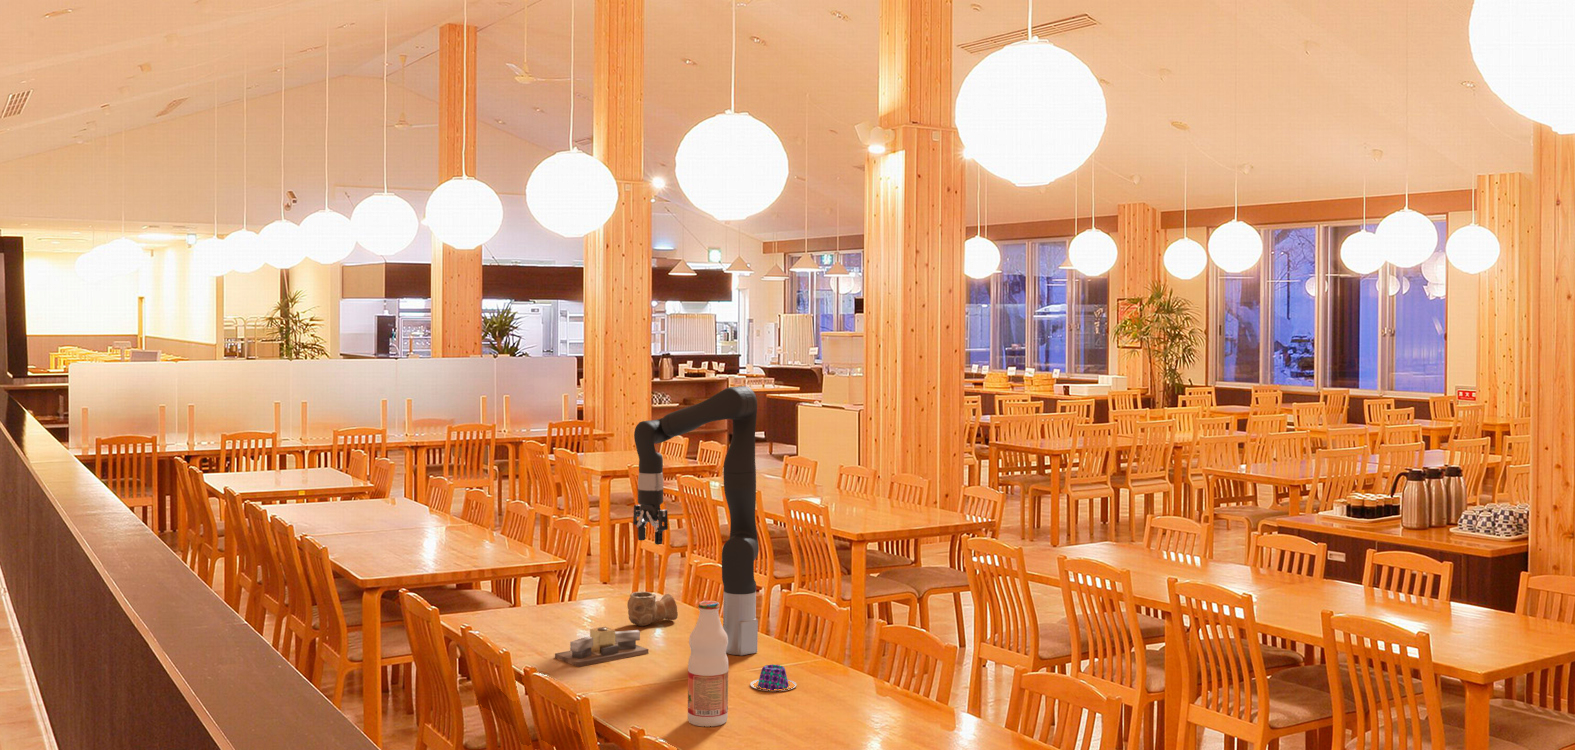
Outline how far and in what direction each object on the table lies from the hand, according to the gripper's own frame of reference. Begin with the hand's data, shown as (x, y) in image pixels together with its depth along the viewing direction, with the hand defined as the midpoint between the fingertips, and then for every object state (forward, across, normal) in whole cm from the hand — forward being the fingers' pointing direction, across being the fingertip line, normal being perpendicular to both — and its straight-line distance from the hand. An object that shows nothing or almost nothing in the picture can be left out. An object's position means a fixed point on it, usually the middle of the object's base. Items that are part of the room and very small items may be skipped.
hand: (650, 542), depth 377 cm
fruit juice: (+28, +75, -36) cm, 88 cm away
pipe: (+28, -12, +10) cm, 32 cm away
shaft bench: (+28, +10, -23) cm, 38 cm away
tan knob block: (+27, +10, -23) cm, 37 cm away
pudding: (+29, +62, -5) cm, 69 cm away
